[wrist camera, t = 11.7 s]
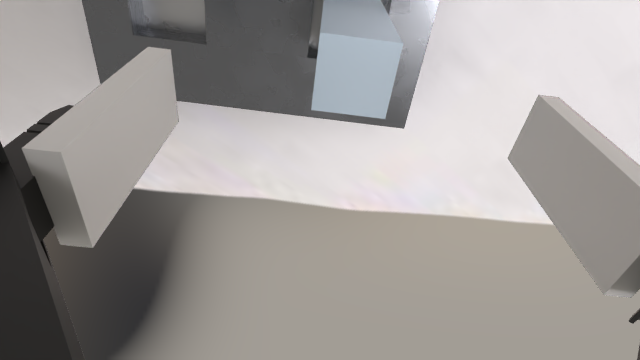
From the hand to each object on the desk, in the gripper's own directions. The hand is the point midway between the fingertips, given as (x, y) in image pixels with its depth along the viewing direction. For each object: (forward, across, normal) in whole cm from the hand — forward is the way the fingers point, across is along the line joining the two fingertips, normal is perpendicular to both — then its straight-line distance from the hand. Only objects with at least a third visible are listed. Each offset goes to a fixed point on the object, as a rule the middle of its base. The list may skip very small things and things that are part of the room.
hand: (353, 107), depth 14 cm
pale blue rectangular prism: (+16, 0, 0) cm, 16 cm away
